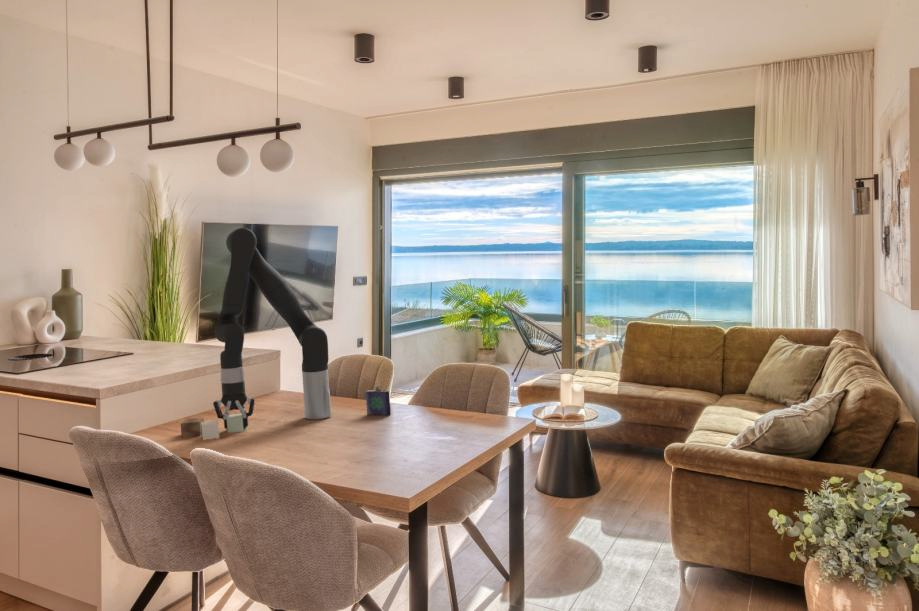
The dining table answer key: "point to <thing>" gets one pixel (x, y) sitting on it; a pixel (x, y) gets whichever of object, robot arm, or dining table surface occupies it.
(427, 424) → the dining table surface
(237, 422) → the sage block
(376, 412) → the flask
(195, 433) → the walnut block
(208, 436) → the cream block
